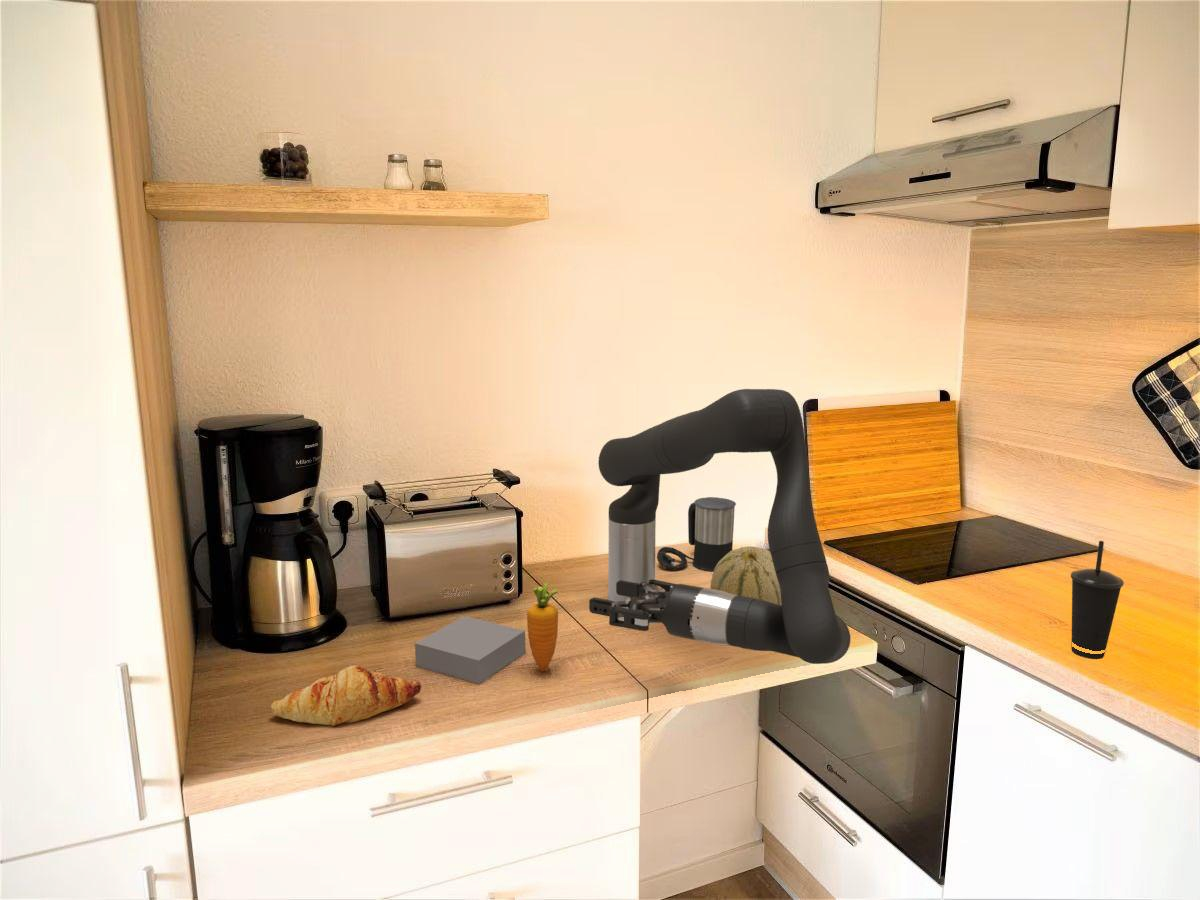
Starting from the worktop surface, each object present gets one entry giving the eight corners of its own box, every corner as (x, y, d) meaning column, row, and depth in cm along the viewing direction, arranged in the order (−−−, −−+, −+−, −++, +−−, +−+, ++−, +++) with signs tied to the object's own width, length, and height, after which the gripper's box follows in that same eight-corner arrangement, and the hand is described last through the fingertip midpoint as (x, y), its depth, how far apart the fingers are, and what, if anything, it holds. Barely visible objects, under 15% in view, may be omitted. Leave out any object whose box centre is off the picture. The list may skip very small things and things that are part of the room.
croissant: (272, 752, 115) (264, 720, 110) (275, 692, 122) (267, 659, 117) (424, 727, 121) (423, 695, 116) (418, 671, 128) (417, 639, 123)
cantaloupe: (769, 605, 159) (772, 532, 157) (803, 636, 145) (807, 556, 143) (698, 611, 156) (700, 537, 154) (725, 643, 142) (728, 562, 139)
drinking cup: (1054, 651, 139) (1067, 540, 135) (1072, 639, 144) (1085, 532, 140) (1103, 667, 133) (1119, 551, 130) (1120, 654, 138) (1135, 542, 134)
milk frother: (742, 565, 183) (744, 502, 180) (697, 582, 172) (698, 515, 169) (693, 551, 193) (695, 490, 190) (648, 566, 182) (649, 502, 179)
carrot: (542, 661, 135) (541, 576, 132) (564, 670, 132) (564, 583, 129) (521, 672, 131) (520, 584, 128) (543, 681, 128) (542, 592, 125)
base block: (465, 637, 145) (464, 615, 144) (525, 652, 139) (525, 630, 138) (415, 665, 134) (414, 643, 133) (479, 684, 127) (478, 660, 127)
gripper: (721, 575, 121) (625, 559, 129) (684, 605, 109) (580, 586, 116) (720, 622, 122) (625, 603, 130) (683, 658, 110) (580, 635, 118)
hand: (604, 595), depth 123 cm, fingers open, 8 cm apart
